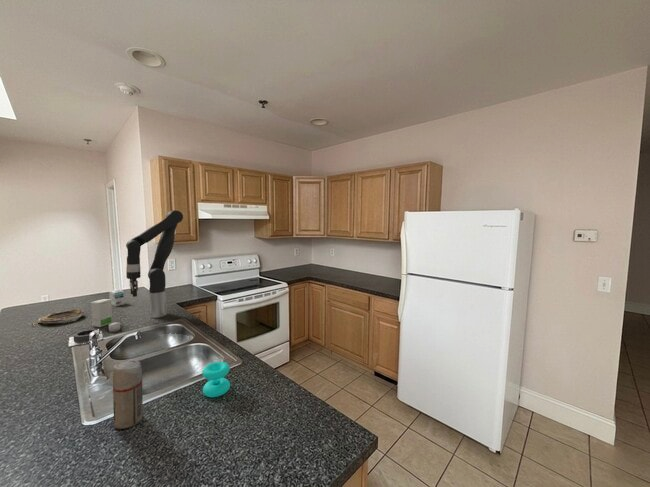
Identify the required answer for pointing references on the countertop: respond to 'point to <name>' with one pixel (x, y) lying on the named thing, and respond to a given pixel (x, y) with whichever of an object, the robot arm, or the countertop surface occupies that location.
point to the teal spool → (216, 379)
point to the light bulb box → (117, 297)
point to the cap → (114, 327)
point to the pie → (61, 317)
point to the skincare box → (101, 312)
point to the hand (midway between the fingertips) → (133, 295)
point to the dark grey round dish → (82, 337)
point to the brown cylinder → (127, 394)
